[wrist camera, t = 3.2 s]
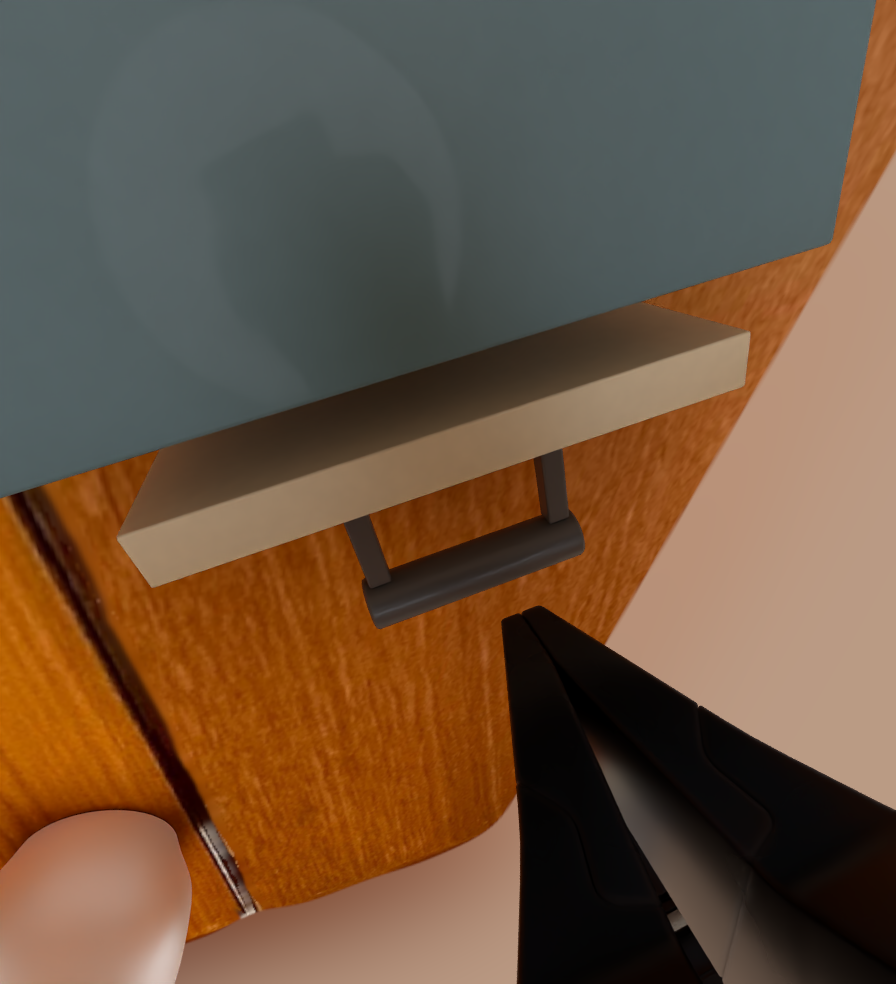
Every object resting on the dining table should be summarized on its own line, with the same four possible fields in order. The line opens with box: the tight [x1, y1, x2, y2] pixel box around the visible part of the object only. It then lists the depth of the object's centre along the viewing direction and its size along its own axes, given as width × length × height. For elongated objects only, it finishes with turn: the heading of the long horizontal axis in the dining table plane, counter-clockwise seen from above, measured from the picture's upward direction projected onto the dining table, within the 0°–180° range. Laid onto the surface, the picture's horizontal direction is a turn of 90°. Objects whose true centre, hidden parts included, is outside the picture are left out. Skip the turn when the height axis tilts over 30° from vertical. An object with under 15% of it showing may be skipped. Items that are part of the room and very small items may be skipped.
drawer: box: [117, 302, 750, 629], centre depth 9 cm, size 20×12×6 cm, turn 12°
